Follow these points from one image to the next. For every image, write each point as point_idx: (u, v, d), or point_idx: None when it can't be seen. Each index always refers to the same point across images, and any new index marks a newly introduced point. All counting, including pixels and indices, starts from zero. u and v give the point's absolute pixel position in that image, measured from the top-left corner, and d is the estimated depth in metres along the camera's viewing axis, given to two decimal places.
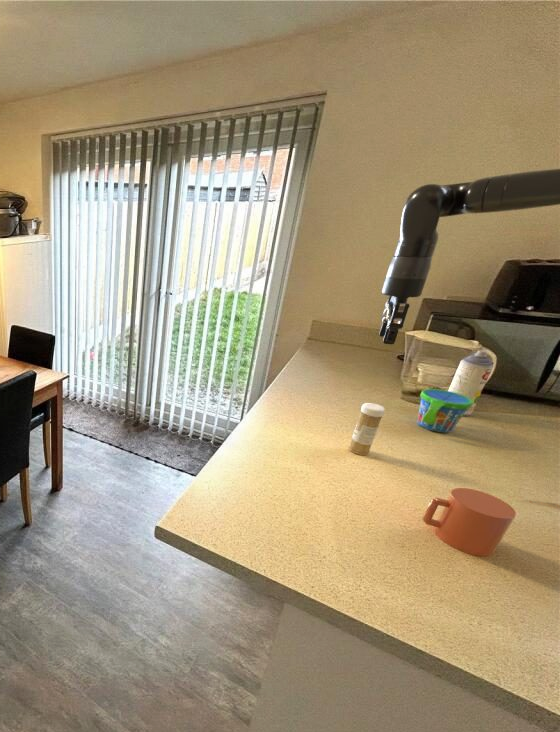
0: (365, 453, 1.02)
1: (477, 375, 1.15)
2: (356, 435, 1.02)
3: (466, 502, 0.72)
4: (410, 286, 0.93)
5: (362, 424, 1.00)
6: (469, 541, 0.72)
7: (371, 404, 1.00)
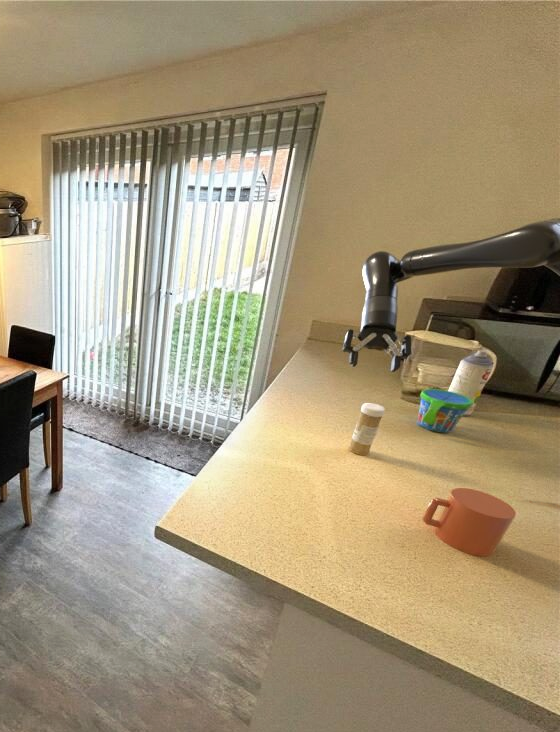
0: (365, 453, 1.02)
1: (477, 375, 1.15)
2: (356, 435, 1.02)
3: (466, 502, 0.72)
4: (363, 319, 1.09)
5: (362, 424, 1.00)
6: (469, 541, 0.72)
7: (371, 404, 1.00)
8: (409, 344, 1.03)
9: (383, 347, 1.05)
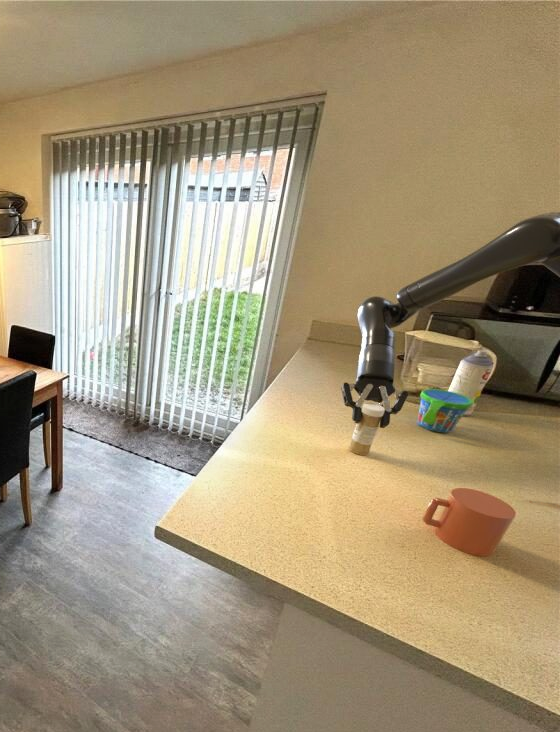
0: (365, 453, 1.02)
1: (477, 375, 1.15)
2: (356, 436, 1.02)
3: (466, 502, 0.72)
4: (359, 368, 1.04)
5: (362, 424, 1.00)
6: (469, 541, 0.72)
7: (371, 404, 1.00)
8: (403, 400, 0.97)
9: (380, 399, 1.00)
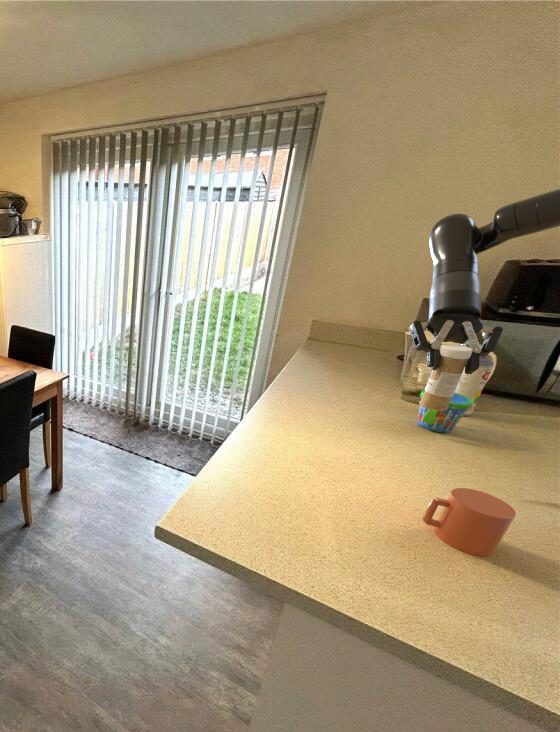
0: (443, 408, 0.80)
1: (477, 375, 1.15)
2: (432, 386, 0.80)
3: (466, 502, 0.72)
4: (433, 303, 0.83)
5: (441, 370, 0.79)
6: (469, 541, 0.72)
7: (452, 345, 0.78)
8: (496, 338, 0.76)
9: (464, 339, 0.78)
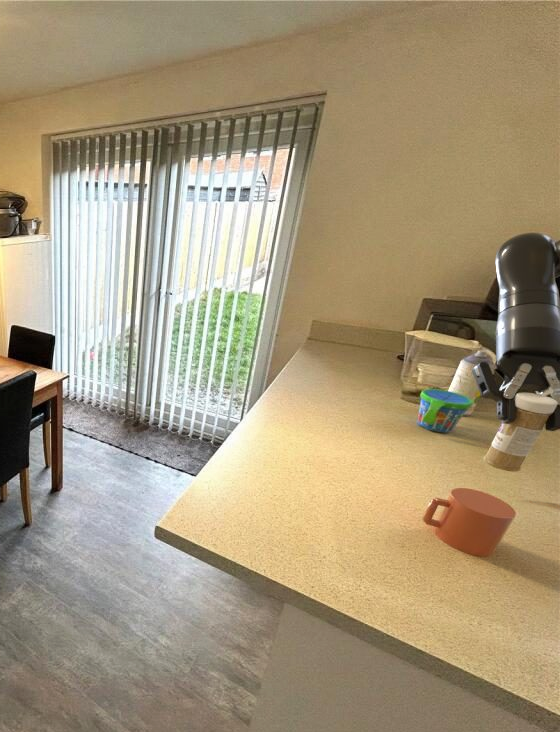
0: (516, 469, 0.67)
1: None
2: (502, 442, 0.67)
3: (466, 502, 0.72)
4: (502, 341, 0.69)
5: (516, 424, 0.65)
6: (469, 541, 0.72)
7: (530, 394, 0.65)
8: None
9: (544, 387, 0.65)
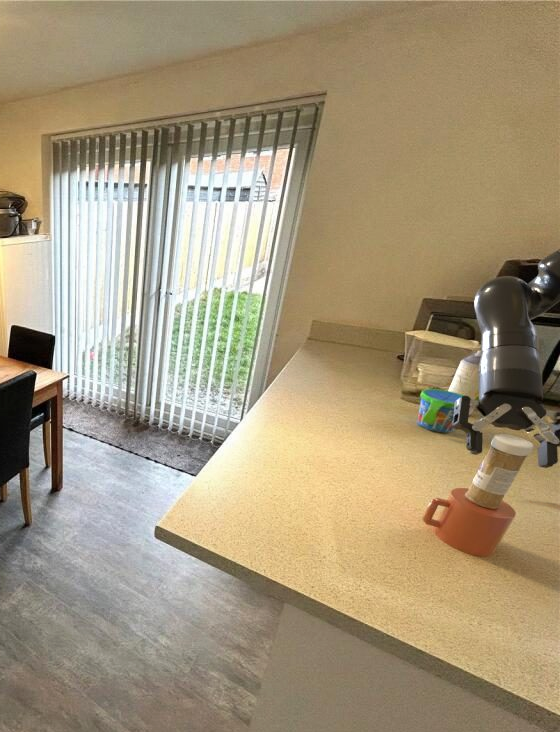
0: (495, 506, 0.70)
1: (477, 375, 1.15)
2: (482, 481, 0.70)
3: (466, 502, 0.72)
4: (484, 380, 0.72)
5: (495, 465, 0.68)
6: (469, 541, 0.72)
7: (508, 436, 0.68)
8: None
9: (523, 427, 0.68)
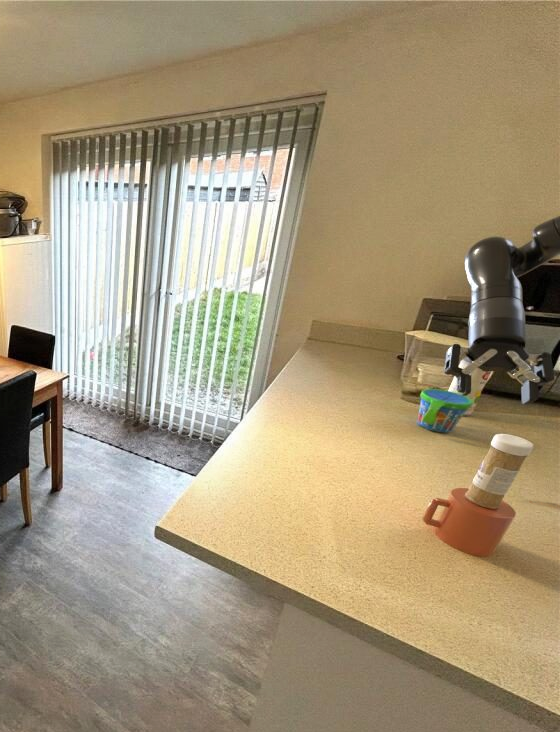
0: (495, 506, 0.70)
1: (477, 375, 1.15)
2: (482, 481, 0.70)
3: (466, 502, 0.72)
4: (473, 330, 0.79)
5: (495, 465, 0.68)
6: (469, 541, 0.72)
7: (508, 436, 0.68)
8: (549, 365, 0.72)
9: (508, 369, 0.75)
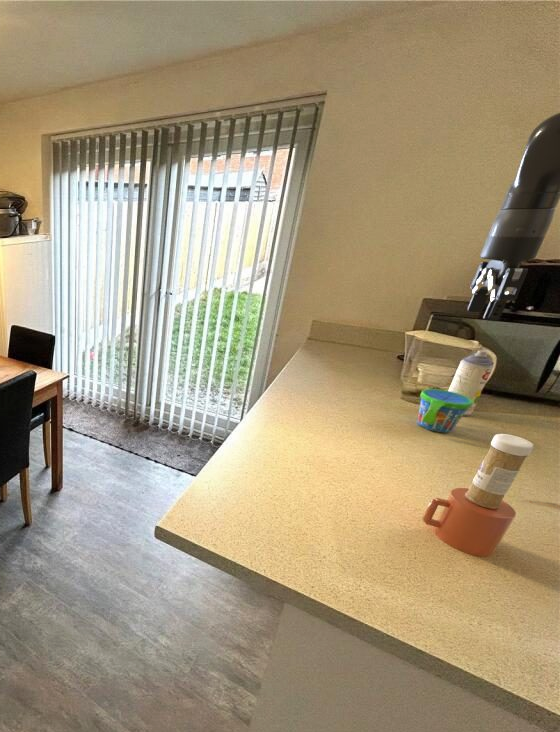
0: (495, 506, 0.70)
1: (477, 375, 1.15)
2: (482, 481, 0.70)
3: (466, 502, 0.72)
4: (526, 246, 0.74)
5: (495, 465, 0.68)
6: (469, 541, 0.72)
7: (508, 436, 0.68)
8: None
9: None
